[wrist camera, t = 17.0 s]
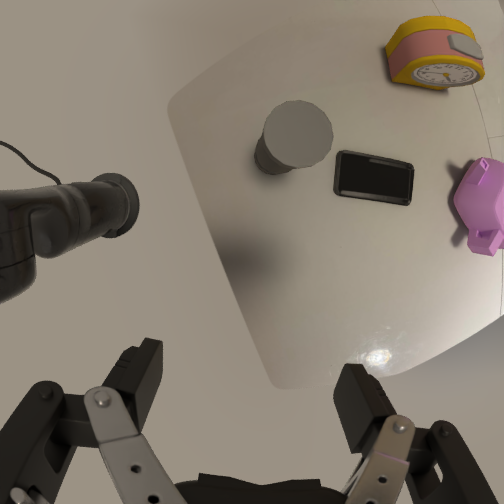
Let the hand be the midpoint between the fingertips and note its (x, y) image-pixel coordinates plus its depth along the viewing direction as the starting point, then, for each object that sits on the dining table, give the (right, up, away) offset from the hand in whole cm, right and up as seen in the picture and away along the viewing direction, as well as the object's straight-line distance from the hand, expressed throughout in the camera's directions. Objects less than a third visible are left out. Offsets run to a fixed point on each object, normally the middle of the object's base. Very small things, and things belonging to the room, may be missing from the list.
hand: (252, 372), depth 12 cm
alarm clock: (+31, +40, +30) cm, 59 cm away
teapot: (+47, +16, +36) cm, 61 cm away
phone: (+21, +18, +35) cm, 45 cm away
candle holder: (+3, +21, +34) cm, 40 cm away
